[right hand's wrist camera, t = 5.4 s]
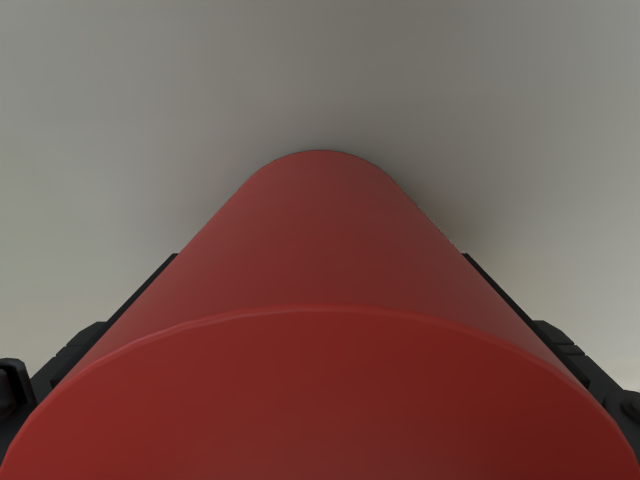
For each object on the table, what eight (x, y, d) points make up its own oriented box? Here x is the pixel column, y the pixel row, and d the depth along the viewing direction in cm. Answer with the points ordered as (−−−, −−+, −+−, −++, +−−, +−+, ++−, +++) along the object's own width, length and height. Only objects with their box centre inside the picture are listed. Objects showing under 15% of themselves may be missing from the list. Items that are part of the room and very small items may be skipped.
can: (186, 273, 18) (-93, 632, 6) (290, 104, 15) (180, 119, 3) (342, 363, 19) (378, 777, 8) (460, 226, 17) (800, 530, 5)
